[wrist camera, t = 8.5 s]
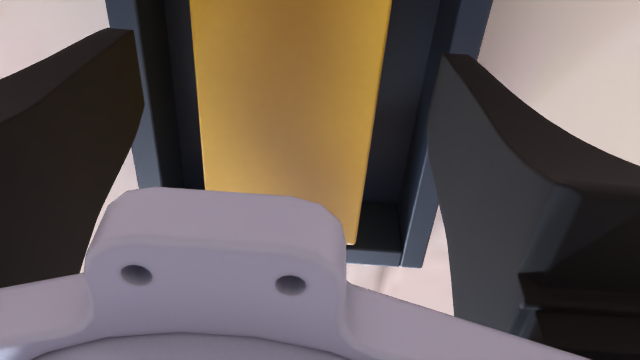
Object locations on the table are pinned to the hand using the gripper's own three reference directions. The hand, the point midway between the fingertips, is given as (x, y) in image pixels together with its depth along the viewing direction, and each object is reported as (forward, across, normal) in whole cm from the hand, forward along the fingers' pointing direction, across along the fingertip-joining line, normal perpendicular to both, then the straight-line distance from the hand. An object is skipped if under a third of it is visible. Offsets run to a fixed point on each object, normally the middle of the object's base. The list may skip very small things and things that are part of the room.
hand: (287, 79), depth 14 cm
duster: (+4, 0, 0) cm, 4 cm away
